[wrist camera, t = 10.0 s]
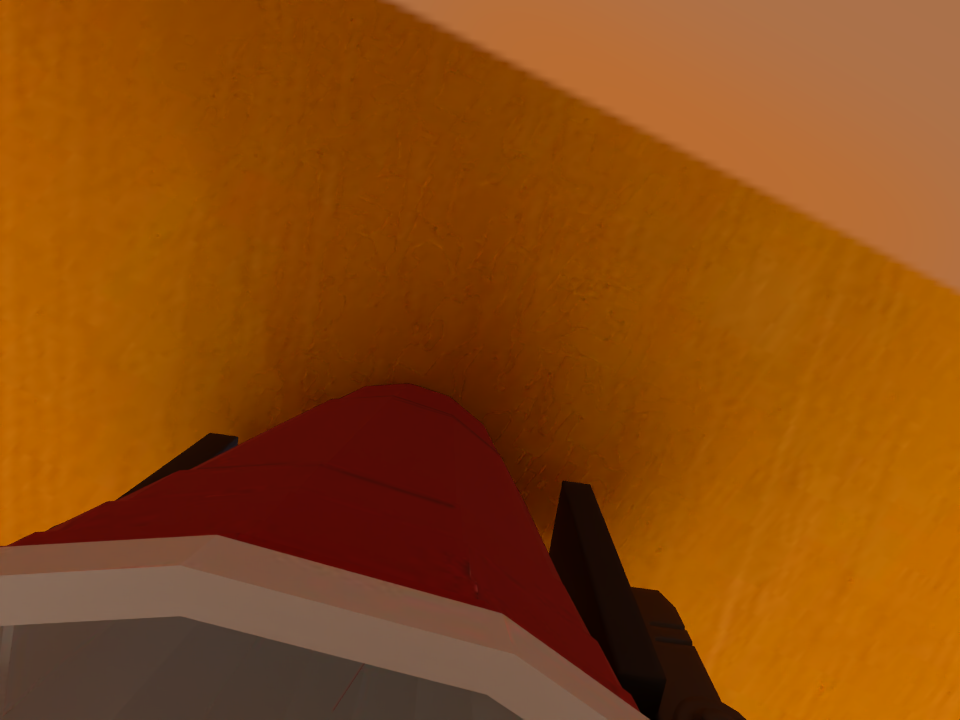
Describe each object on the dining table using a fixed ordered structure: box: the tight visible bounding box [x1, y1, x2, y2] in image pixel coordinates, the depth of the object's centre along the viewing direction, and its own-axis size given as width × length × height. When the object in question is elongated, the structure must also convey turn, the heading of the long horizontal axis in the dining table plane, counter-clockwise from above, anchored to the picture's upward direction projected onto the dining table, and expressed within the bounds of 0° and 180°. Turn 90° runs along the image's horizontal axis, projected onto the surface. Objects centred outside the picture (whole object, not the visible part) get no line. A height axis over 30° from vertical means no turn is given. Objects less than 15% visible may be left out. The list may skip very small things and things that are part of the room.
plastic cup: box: [0, 384, 650, 720], centre depth 10 cm, size 11×11×12 cm
